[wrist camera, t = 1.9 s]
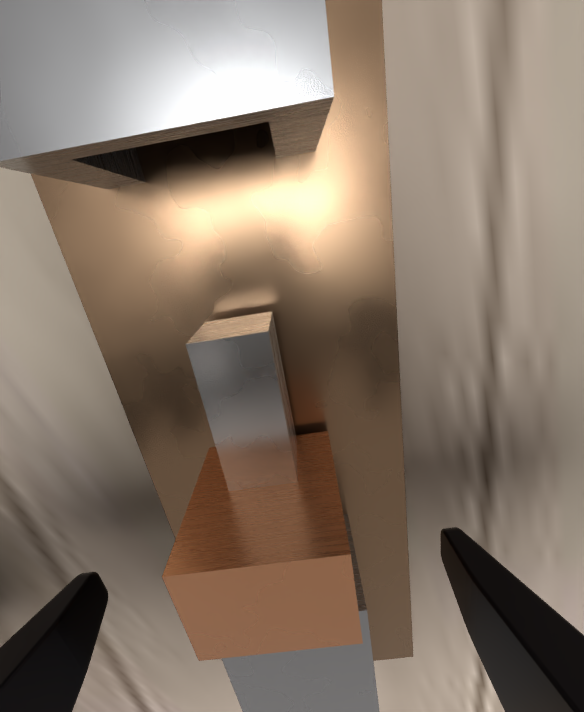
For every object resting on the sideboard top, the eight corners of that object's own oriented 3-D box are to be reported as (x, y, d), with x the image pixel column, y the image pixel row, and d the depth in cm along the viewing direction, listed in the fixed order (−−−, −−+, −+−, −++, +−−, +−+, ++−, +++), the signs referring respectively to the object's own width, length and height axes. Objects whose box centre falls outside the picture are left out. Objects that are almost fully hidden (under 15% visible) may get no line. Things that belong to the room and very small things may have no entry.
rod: (359, 646, 15) (384, 803, 11) (272, 655, 15) (266, 812, 11) (309, 303, 9) (324, 362, 5) (171, 325, 10) (82, 399, 5)
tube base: (409, 644, 16) (447, 775, 12) (231, 662, 17) (213, 794, 13) (361, -253, 6) (480, -1041, 2) (-79, -143, 7) (-582, -648, 3)
